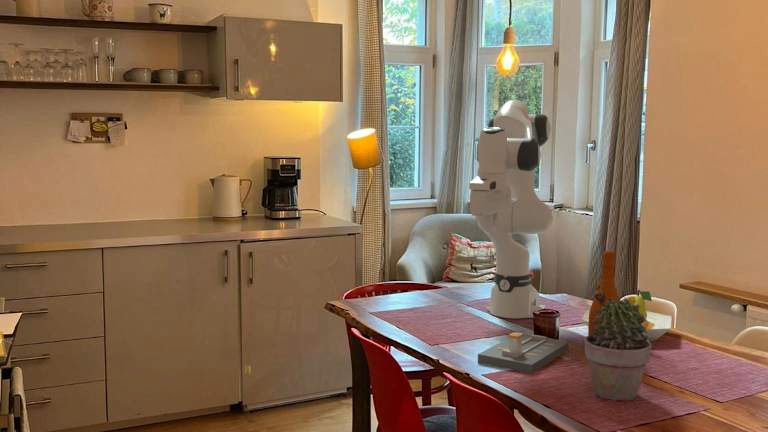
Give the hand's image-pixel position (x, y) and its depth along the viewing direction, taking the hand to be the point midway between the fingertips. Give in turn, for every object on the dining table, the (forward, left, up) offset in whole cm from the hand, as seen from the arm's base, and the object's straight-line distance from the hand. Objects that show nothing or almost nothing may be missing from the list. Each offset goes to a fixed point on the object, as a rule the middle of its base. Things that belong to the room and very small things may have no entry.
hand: (491, 228), depth 230 cm
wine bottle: (-6, +34, -34) cm, 49 cm away
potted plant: (+24, +48, -34) cm, 64 cm away
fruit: (-31, +32, -34) cm, 56 cm away
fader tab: (+15, +16, -32) cm, 38 cm away
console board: (+9, +16, -34) cm, 39 cm away
